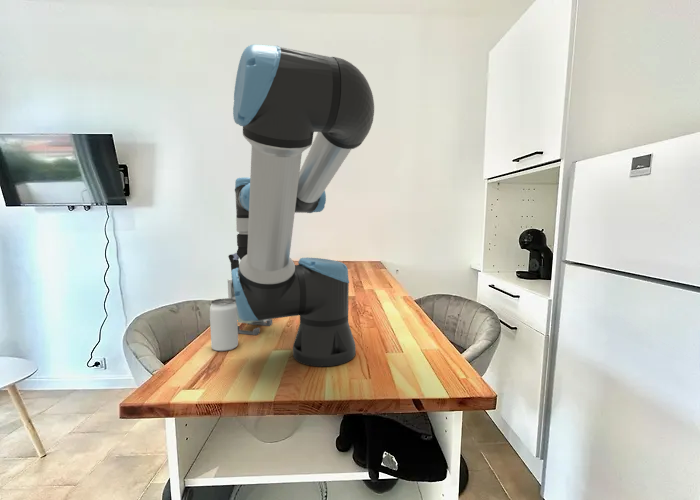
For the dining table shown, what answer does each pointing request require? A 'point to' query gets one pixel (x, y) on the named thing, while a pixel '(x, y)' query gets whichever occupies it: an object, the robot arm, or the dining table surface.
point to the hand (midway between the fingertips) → (252, 312)
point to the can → (223, 324)
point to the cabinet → (255, 331)
